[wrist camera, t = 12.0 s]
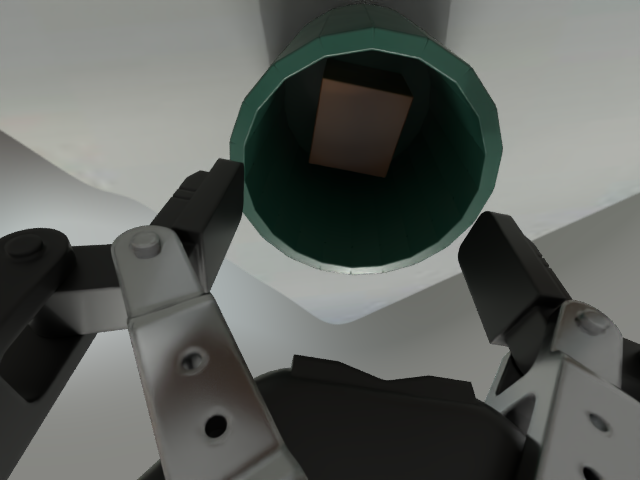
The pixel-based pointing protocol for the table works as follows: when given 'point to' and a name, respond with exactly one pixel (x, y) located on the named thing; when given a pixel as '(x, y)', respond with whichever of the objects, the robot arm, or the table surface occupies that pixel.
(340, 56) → the tin
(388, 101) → the block
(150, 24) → the table surface
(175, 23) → the table surface
